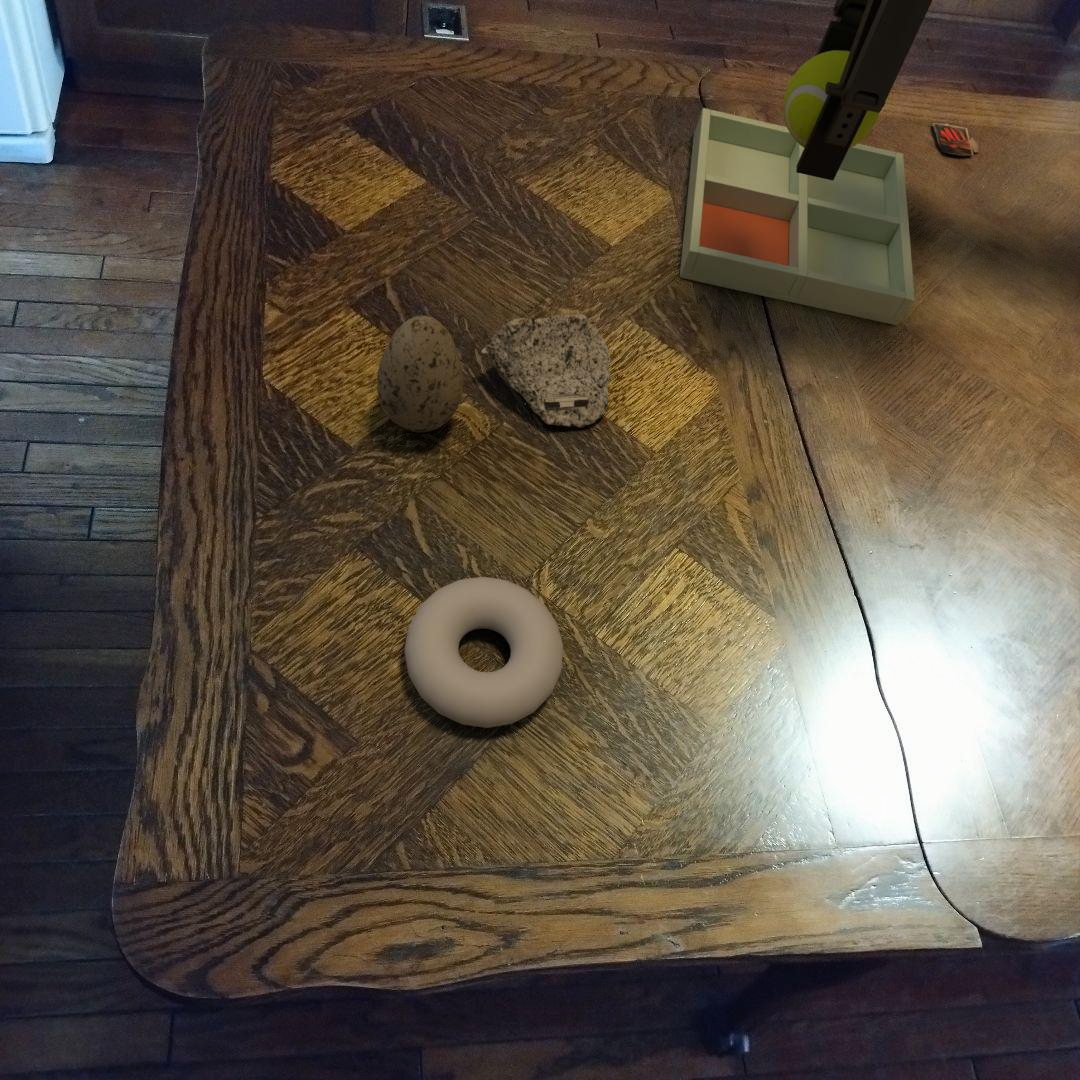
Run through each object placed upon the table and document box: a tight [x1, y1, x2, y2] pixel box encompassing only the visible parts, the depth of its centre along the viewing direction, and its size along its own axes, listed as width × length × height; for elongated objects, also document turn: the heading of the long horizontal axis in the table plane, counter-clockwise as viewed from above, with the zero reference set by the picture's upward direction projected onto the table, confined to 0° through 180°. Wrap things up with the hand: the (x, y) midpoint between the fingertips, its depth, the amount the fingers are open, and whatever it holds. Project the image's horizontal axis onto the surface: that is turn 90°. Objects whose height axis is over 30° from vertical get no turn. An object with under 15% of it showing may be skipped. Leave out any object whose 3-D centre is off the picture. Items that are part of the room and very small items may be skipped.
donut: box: [404, 576, 564, 729], centre depth 62 cm, size 10×4×10 cm
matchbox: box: [929, 122, 981, 157], centre depth 100 cm, size 5×5×1 cm
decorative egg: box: [376, 315, 464, 433], centre depth 68 cm, size 6×6×10 cm
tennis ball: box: [782, 50, 881, 148], centre depth 69 cm, size 7×7×7 cm
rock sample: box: [481, 309, 613, 429], centre depth 74 cm, size 10×8×9 cm
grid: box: [679, 107, 916, 327], centre depth 88 cm, size 19×19×3 cm
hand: (814, 140), depth 72 cm, fingers closed on tennis ball, 7 cm apart
